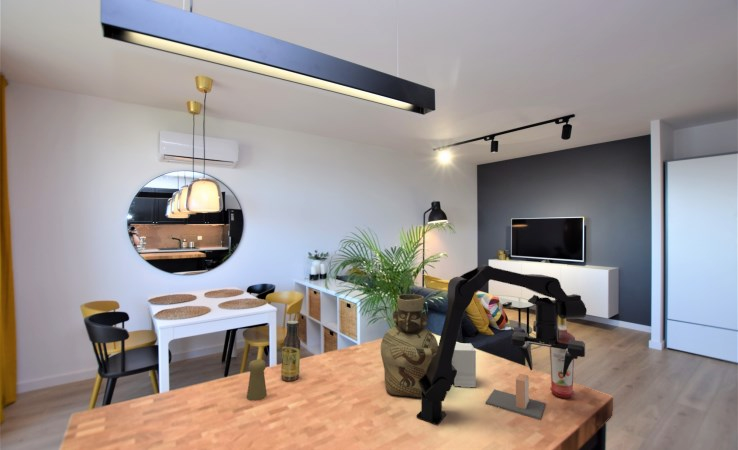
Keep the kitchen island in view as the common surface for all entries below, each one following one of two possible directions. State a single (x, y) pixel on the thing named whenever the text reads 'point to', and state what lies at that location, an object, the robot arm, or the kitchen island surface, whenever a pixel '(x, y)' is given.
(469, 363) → the supplement box
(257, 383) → the pepper mill
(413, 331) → the ceramic vessel
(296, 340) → the sauce bottle
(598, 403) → the kitchen island surface
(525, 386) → the slab
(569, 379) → the liquor
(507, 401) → the mat
